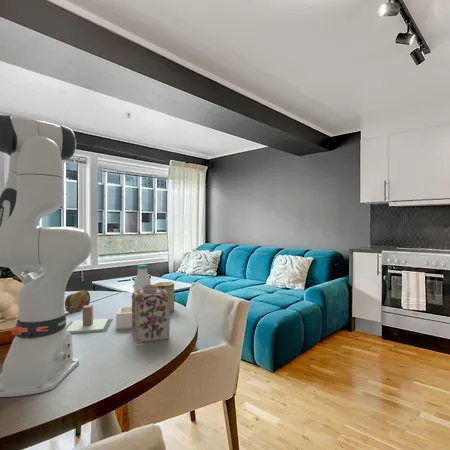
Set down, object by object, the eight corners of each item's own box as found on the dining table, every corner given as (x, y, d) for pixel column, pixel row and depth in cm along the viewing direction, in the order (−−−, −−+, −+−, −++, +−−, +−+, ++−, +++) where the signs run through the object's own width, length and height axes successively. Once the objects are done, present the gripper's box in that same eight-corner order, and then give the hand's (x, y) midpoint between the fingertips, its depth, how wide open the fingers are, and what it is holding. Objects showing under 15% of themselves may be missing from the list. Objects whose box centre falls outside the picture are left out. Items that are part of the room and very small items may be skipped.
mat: (106, 333, 116) (106, 332, 116) (58, 336, 113) (58, 335, 113) (112, 320, 132) (112, 319, 132) (71, 322, 128) (71, 321, 128)
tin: (69, 315, 139) (69, 295, 139) (63, 314, 140) (63, 295, 140) (90, 306, 154) (90, 288, 154) (85, 305, 154) (84, 288, 154)
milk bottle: (147, 309, 147) (146, 266, 147) (131, 309, 148) (131, 266, 148) (153, 305, 155) (153, 264, 154) (138, 304, 156) (138, 263, 156)
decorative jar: (134, 344, 105) (134, 289, 105) (131, 333, 116) (131, 283, 116) (170, 339, 110) (170, 287, 110) (164, 328, 121) (163, 281, 121)
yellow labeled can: (150, 312, 143) (150, 285, 143) (159, 306, 152) (159, 281, 152) (169, 313, 141) (169, 286, 141) (177, 308, 150) (177, 282, 150)
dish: (143, 328, 121) (143, 312, 121) (116, 329, 119) (116, 313, 119) (145, 320, 131) (144, 305, 131) (119, 321, 129) (119, 307, 129)
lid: (102, 331, 117) (102, 309, 117) (64, 333, 115) (64, 311, 114) (108, 320, 130) (108, 301, 130) (74, 322, 127) (74, 302, 127)
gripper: (25, 267, 108) (56, 294, 110) (46, 260, 128) (72, 283, 130) (10, 280, 107) (42, 308, 109) (33, 271, 127) (60, 294, 130)
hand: (58, 294), depth 120 cm, fingers open, 8 cm apart
